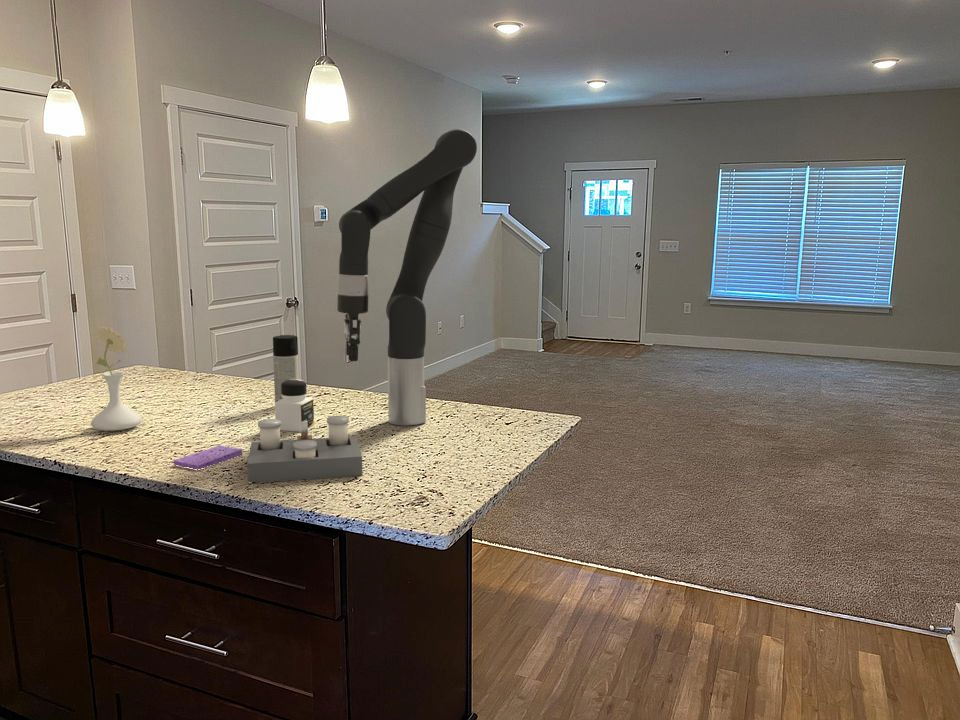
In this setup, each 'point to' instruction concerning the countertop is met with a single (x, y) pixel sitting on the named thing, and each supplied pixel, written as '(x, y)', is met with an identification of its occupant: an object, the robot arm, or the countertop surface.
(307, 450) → the knob side
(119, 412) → the flower in vase
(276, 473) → the mount
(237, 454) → the sponges
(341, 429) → the knob
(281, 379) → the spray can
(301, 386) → the medicine bottle
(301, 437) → the brown boxy piece
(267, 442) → the knob
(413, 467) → the countertop surface
